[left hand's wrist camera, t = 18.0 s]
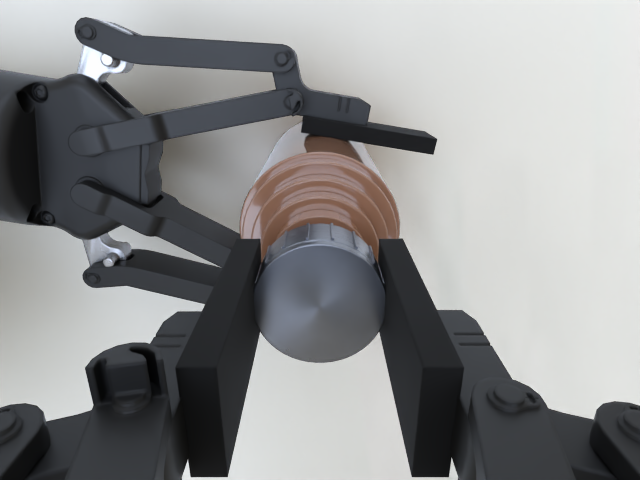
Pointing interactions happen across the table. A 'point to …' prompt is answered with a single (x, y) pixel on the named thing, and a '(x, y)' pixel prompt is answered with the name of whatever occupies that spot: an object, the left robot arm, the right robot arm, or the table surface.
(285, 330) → the cap
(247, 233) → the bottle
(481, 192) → the table surface
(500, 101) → the table surface
